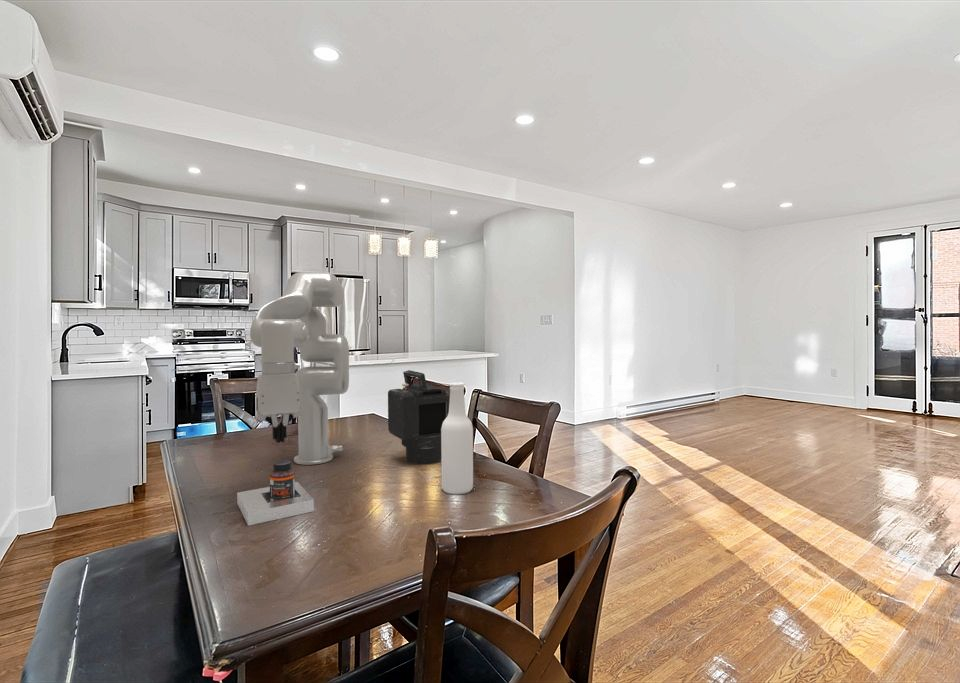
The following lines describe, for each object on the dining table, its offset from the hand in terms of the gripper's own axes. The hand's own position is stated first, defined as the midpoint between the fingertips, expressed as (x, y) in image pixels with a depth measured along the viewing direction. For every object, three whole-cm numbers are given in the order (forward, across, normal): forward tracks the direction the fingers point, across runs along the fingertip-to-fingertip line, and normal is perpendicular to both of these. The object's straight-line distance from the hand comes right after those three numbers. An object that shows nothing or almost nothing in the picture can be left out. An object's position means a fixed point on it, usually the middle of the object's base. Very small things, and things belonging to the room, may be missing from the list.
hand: (279, 441), depth 125 cm
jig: (+17, +1, 0) cm, 17 cm away
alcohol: (+17, -44, +15) cm, 49 cm away
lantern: (+17, -49, -17) cm, 54 cm away
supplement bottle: (+17, 0, 0) cm, 17 cm away
